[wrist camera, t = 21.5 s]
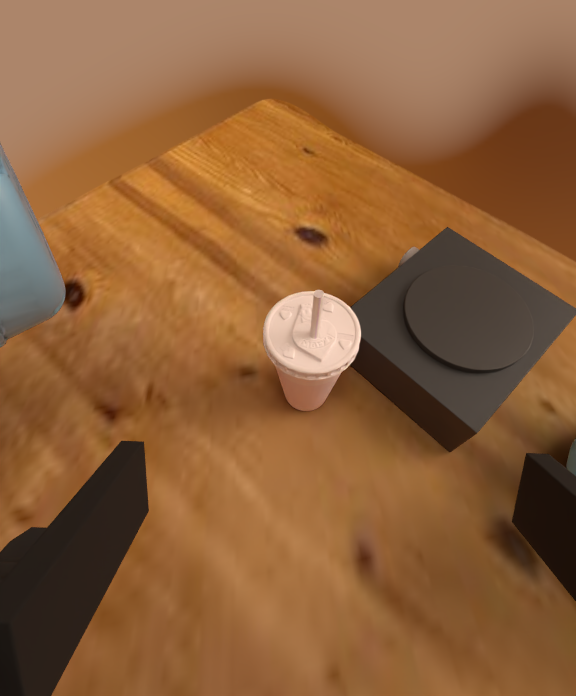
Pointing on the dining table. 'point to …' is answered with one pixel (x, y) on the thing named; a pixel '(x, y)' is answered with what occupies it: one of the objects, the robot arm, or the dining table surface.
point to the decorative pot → (572, 458)
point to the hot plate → (454, 335)
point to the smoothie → (310, 345)
